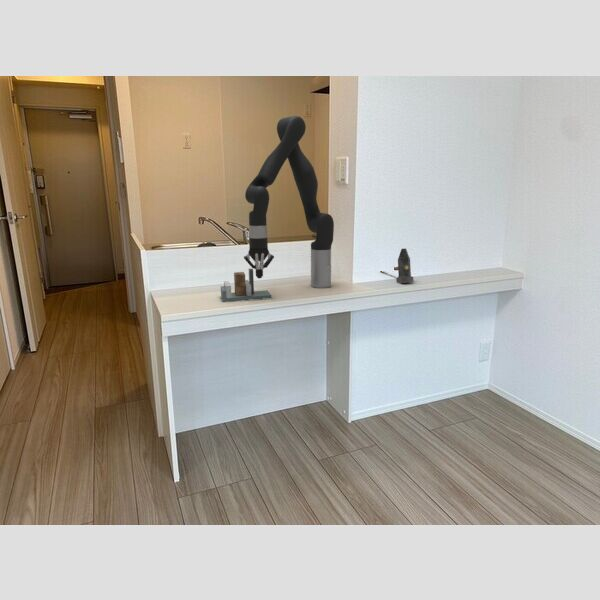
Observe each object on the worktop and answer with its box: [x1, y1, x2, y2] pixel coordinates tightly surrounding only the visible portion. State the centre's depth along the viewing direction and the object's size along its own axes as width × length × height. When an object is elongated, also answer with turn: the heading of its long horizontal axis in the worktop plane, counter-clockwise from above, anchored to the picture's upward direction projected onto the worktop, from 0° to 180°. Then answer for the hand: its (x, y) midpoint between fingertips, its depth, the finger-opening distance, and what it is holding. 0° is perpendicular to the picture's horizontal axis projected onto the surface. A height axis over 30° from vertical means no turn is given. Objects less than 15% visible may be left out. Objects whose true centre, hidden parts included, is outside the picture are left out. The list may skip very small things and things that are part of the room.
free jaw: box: [245, 268, 255, 296], centre depth 194 cm, size 4×9×10 cm, turn 14°
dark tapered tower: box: [393, 248, 414, 284], centre depth 231 cm, size 6×16×30 cm
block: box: [233, 271, 246, 296], centre depth 194 cm, size 4×5×9 cm
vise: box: [220, 280, 272, 303], centre depth 195 cm, size 20×9×6 cm, turn 104°
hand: (259, 277), depth 195 cm, fingers closed
